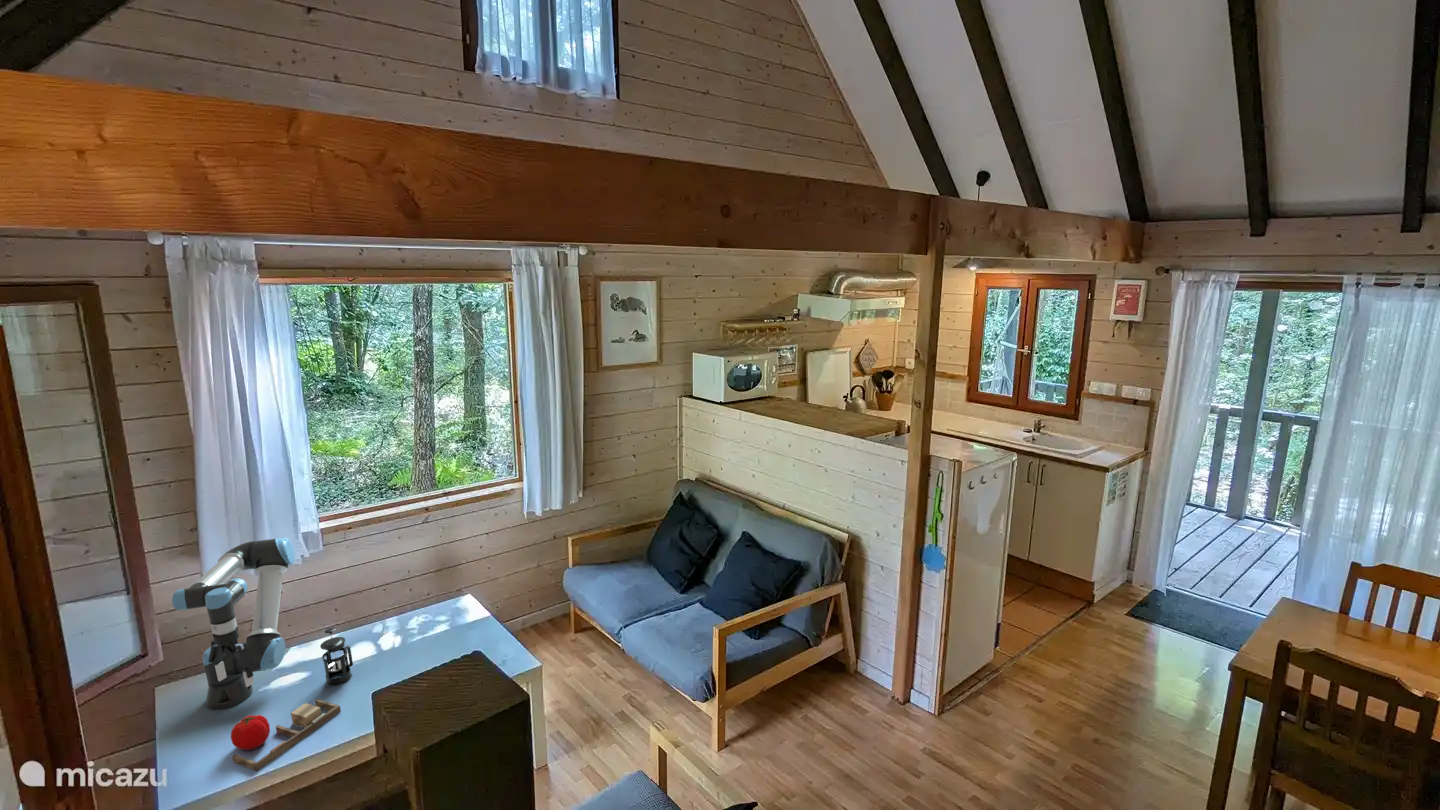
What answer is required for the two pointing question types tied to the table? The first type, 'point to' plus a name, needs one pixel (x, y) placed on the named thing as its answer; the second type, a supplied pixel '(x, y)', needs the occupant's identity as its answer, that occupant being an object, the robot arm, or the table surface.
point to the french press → (336, 660)
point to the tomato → (250, 732)
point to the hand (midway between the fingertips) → (236, 681)
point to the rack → (290, 733)
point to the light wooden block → (305, 715)
